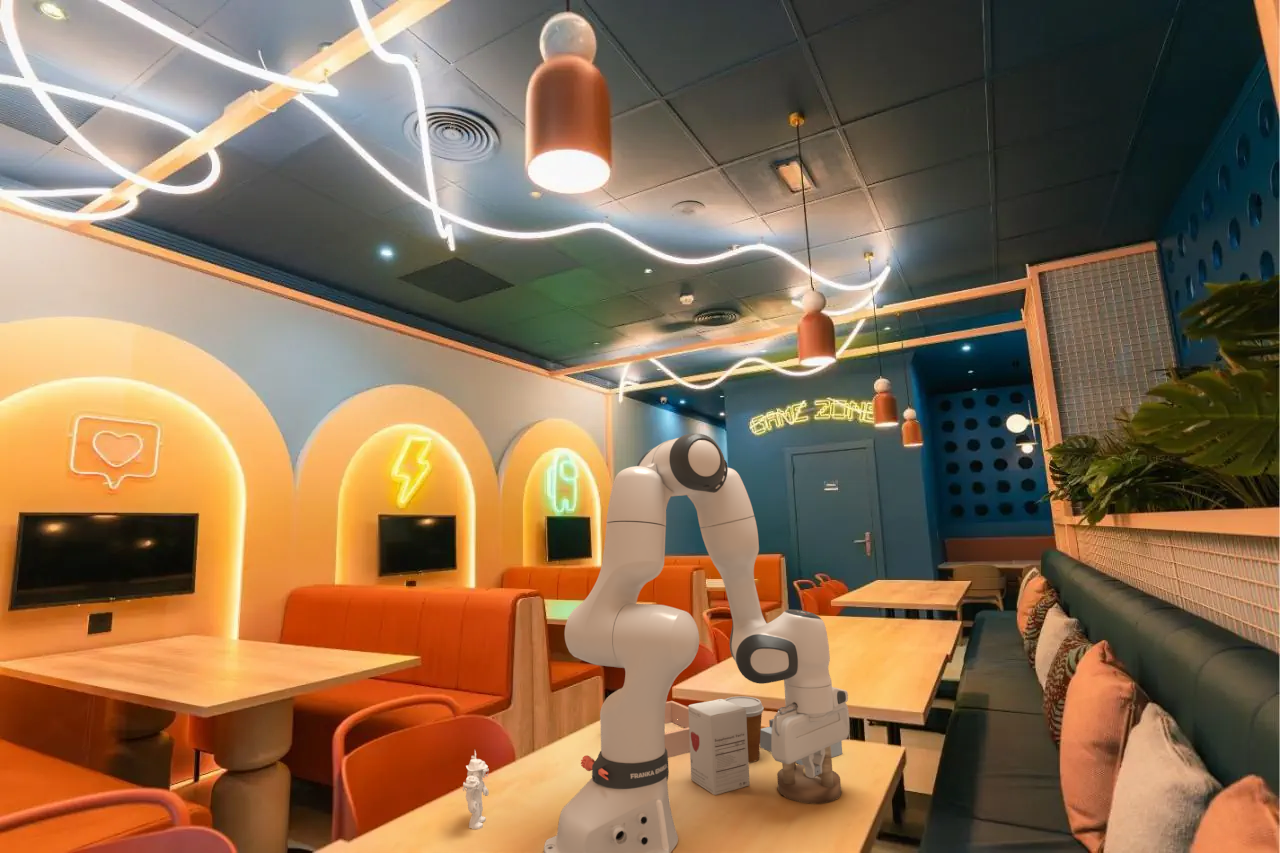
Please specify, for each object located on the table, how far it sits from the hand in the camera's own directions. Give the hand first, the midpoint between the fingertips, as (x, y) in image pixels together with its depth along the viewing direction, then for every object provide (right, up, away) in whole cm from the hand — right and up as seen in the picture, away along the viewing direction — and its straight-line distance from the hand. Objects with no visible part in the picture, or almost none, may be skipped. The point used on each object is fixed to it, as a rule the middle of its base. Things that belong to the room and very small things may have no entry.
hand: (814, 775), depth 120 cm
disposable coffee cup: (-9, -9, +24) cm, 27 cm away
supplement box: (-16, -8, +11) cm, 21 cm away
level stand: (+4, -9, +27) cm, 29 cm away
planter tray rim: (-27, -12, +38) cm, 48 cm away
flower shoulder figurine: (-62, -7, -4) cm, 63 cm away
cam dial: (+1, -6, +6) cm, 8 cm away
